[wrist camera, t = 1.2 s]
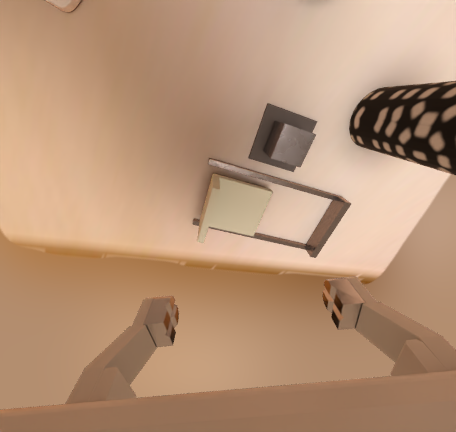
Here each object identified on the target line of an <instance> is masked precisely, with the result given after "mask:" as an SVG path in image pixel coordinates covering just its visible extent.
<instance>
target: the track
mask: <svg viewBox="0 0 456 432" xmlns="http://www.w3.org/2000/svg"><path fill="white" fill-rule="evenodd" d="M208 164H209V165H213V166H216V167H220V168H223V169H227V170H230V171H234V172H237V173H241V174H244V175H248V176H251V177H255V178H258V179H262V180H265V181H269V182H272V183H276V184H279V185H283V186H286V187H290V188H293V189H297V190H300V191H304V192H307V193H311V194H314V195H318V196H321V197H325V198H328V199H332V200H333V201H332V203H331V204H330V206H329V208H328V209H327V211H326V213H325V214H324V216H323V218H322V219H321V221H320V222H319V224H318V226H317V227H316V229H315V231H314V232H313V234H312V236H311V237H310V239H309V241H308V242H307V244H303V243H298V242H294V241H290V240H285V239H281V238H277V237H272V236H268V235H263V234H259V233H255V234H254V236H249V235H245V234H240V233H236V232H231V231H227V230H222V229H218V228H213V227H209V228H211V229H215V230H220V231H224V232H229V233H233V234H238V235H242V236H247V237H251V238H256V239H260V240H265V241H269V242H274V243H278V244H283V245H287V246H292V247H296V248H301V249H305V250H307V252H308V254H309V255H310V257H314V258H316V257H317V255H318V254H319V252H320V251H321V249H322V247H323V246H324V244H325V243H326V241H327V240H328V238H329V237H330V235H331V234H332V232H333V231H334V229H335V228H336V226H337V225H338V223H339V222H340V220H341V219H342V217H343V216H344V214H345V213H346V211H347V210H348V208H349V207H350V205H351V203H350V202H348V201H347V200H346V199H344V198H343V197H341V196H338V195H334V194H331V193H327V192H324V191H321V190H317V189H314V188H310V187H307V186H304V185H300V184H297V183H293V182H290V181H286V180H283V179H280V178H276V177H273V176H269V175H266V174H263V173H259V172H256V171H252V170H249V169H245V168H242V167H239V166H235V165H232V164H228V163H225V162H222V161H218V160H215V159H211V158H210V159H209V163H208ZM199 223H200V220H198V219H194V220H193V225H197V226H199Z"/></svg>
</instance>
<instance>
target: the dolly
mask: <svg viewBox="0 0 456 432" xmlns="http://www.w3.org/2000/svg"><path fill="white" fill-rule="evenodd" d="M272 193H273V191H272V190H271V189H268V188H264V187H261V186H257V185H254V184H250V183H246V182H243V181H239V180H236V179H232V178H229V177H225V176H221V175H218V174H214V173H213V175H212V178H211V182H210V186H209V189H208V193H207V196H206V200H205V204H204V207H203V211H202V214H201V218H200V223H199V231H198V239H197V242H200V243H204V241H205V237H206V234H207V231H208V228H209V227H213V228H218V229H222V230H227V231H231V232H236V233H240V234H245V235H249V236H254V234H255V232H256V229H257V227H258V225H259V223H260V220H261V218H262V216H263V213H264V211H265V209H266V207H267V204H268V202H269V200H270V198H271V195H272Z"/></svg>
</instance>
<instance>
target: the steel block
mask: <svg viewBox="0 0 456 432" xmlns="http://www.w3.org/2000/svg"><path fill="white" fill-rule="evenodd" d="M315 136H316V134H313V133H310V132H307V131H304V130H302V129H299V128H296V127H293V126H290V125H288V124H285V123H281V122H278V121H274V123H273V126H272V129H271V131H270V134H269V137H268V139H267V142H266V144H265V147H264V150H263V151H264V152H265V153H266V154H267V155H268V156H269V157H270V158H271V159H274V160H278V161H281V162H284V163H287V164H291V165H294V166H297V167H301V165H302V163H303V161H304V159H305V157H306V155H307V152H308V150H309V148H310V146H311V144H312V142H313V140H314V138H315Z"/></svg>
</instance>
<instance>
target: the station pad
mask: <svg viewBox="0 0 456 432" xmlns="http://www.w3.org/2000/svg"><path fill="white" fill-rule="evenodd" d="M274 121H278V122H281V123H285V124H288V125H290V126H293V127H296V128H299V129H302V130H304V131H307V132H310V133H312V132H313V130H314V127H315V125H316V123H317V121H314V120H312V119H309V118H306V117H304V116H301V115H298V114H295V113H293V112H290V111H287V110H285V109H282V108H279V107H276V106H274V105H271V104H267V107H266V110H265V112H264V115H263V118H262V121H261V124H260V127H259V129H258V132H257V135H256V138H255V141H254V144H253V147H252V149H251V152H250V155H249V159H253V160H256V161H259V162H263V163H266V164H269V165H272V166H276V167H279V168H282V169H286V170H289V171H292V172H294V170H295V168H296V166H294V165H291V164H287V163H284V162H281V161H278V160H274V159H271V158H270V157H269V156H268V155H267V154H266V153H265V152H264V151H263V150H264V147H265V144H266V142H267V139H268V137H269V134H270V131H271V129H272V126H273V123H274Z"/></svg>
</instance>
